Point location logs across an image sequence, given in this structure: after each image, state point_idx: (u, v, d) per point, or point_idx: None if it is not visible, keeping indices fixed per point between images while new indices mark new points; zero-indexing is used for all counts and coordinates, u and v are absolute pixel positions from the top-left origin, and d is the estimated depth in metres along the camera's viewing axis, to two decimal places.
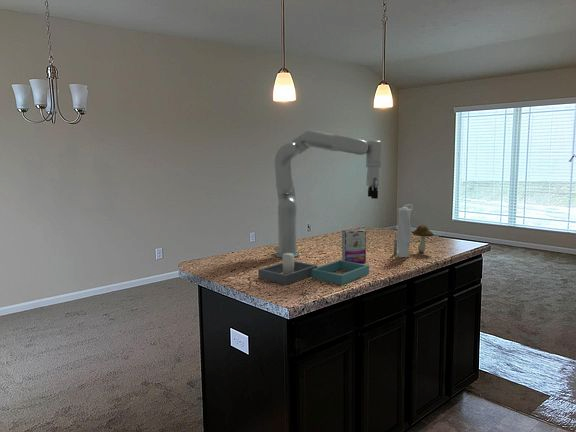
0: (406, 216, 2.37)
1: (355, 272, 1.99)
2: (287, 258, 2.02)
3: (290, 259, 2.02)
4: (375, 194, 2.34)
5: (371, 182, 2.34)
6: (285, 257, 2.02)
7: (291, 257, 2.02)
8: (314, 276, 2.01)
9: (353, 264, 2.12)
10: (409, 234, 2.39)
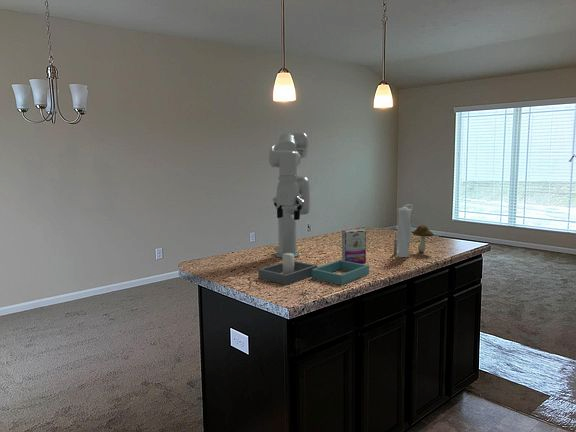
0: (406, 216, 2.37)
1: (355, 272, 1.99)
2: (287, 258, 2.02)
3: (290, 259, 2.02)
4: (298, 214, 1.98)
5: (294, 201, 1.96)
6: (285, 257, 2.02)
7: (291, 257, 2.02)
8: (314, 276, 2.01)
9: (353, 264, 2.12)
10: (409, 234, 2.39)
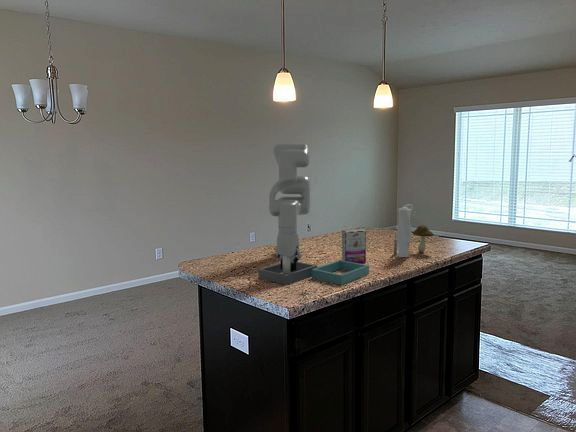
0: (406, 216, 2.37)
1: (355, 272, 1.99)
2: (287, 258, 2.02)
3: (290, 259, 2.02)
4: (295, 266, 2.02)
5: (294, 252, 1.99)
6: (285, 257, 2.02)
7: None
8: (314, 276, 2.01)
9: (353, 264, 2.12)
10: (409, 234, 2.39)
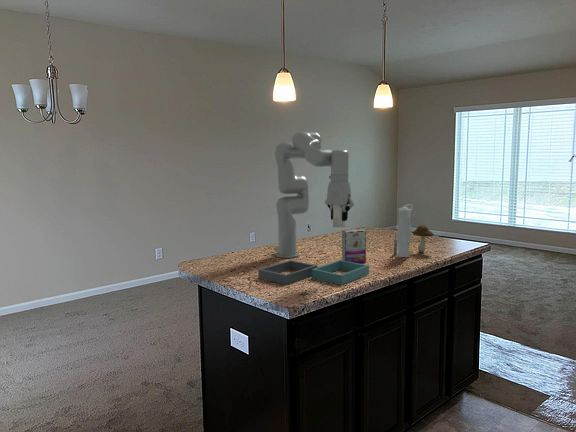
0: (406, 216, 2.37)
1: (355, 272, 1.99)
2: (338, 207, 1.98)
3: (341, 208, 1.98)
4: (346, 215, 1.99)
5: (346, 200, 1.96)
6: (336, 206, 1.98)
7: None
8: (314, 276, 2.01)
9: (353, 264, 2.12)
10: (409, 234, 2.39)
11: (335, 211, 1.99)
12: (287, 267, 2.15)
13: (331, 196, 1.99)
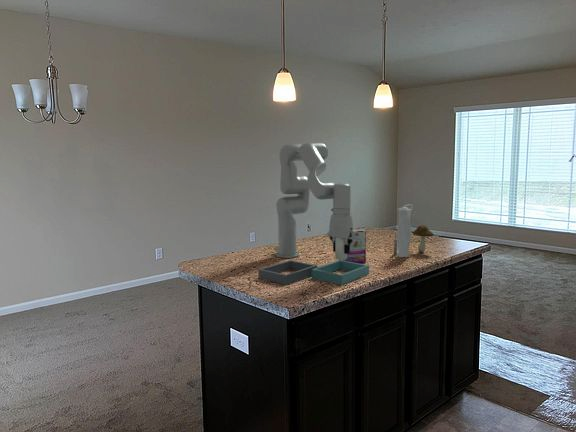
0: (406, 216, 2.37)
1: (355, 272, 1.99)
2: (341, 240, 2.00)
3: (344, 241, 2.00)
4: (349, 248, 2.01)
5: (348, 233, 1.98)
6: (339, 239, 2.00)
7: None
8: (314, 276, 2.01)
9: (353, 264, 2.12)
10: (409, 234, 2.39)
11: (337, 244, 2.01)
12: (287, 267, 2.15)
13: (333, 229, 2.01)
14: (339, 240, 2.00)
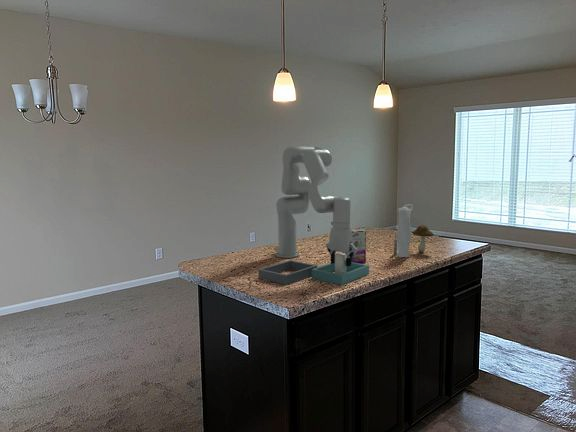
0: (406, 216, 2.37)
1: (355, 272, 1.99)
2: (340, 258, 2.02)
3: (343, 259, 2.02)
4: (350, 261, 2.01)
5: (348, 247, 1.99)
6: (338, 257, 2.02)
7: (344, 257, 2.02)
8: (314, 276, 2.01)
9: (353, 264, 2.12)
10: (409, 234, 2.39)
11: (337, 262, 2.02)
12: (287, 267, 2.15)
13: (333, 243, 2.02)
14: (338, 258, 2.02)
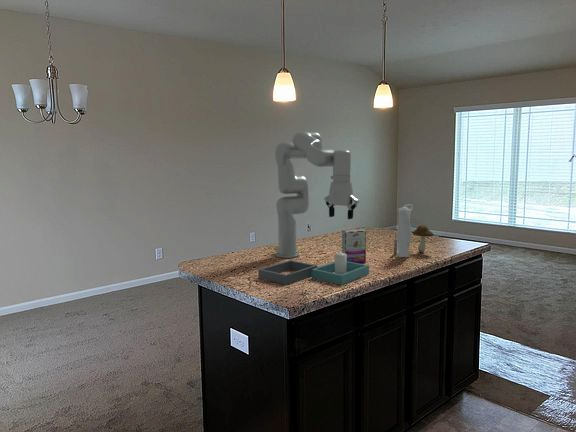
0: (406, 216, 2.37)
1: (355, 272, 1.99)
2: (340, 258, 2.02)
3: (343, 259, 2.02)
4: (352, 214, 1.98)
5: (348, 200, 1.96)
6: (338, 257, 2.02)
7: (344, 257, 2.02)
8: (314, 276, 2.01)
9: (353, 264, 2.12)
10: (409, 234, 2.39)
11: (337, 262, 2.02)
12: (287, 267, 2.15)
13: (333, 196, 2.00)
14: (338, 258, 2.02)
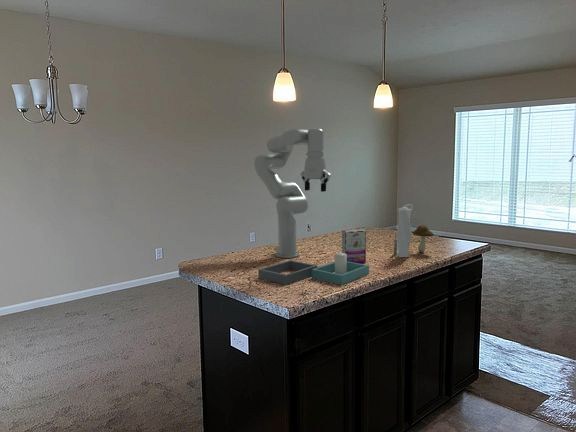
0: (406, 216, 2.37)
1: (355, 272, 1.99)
2: (340, 258, 2.02)
3: (343, 259, 2.02)
4: (325, 186, 2.18)
5: (321, 174, 2.16)
6: (338, 257, 2.02)
7: (344, 257, 2.02)
8: (314, 276, 2.01)
9: (353, 264, 2.12)
10: (409, 234, 2.39)
11: (337, 262, 2.02)
12: (287, 267, 2.15)
13: (308, 171, 2.20)
14: (338, 258, 2.02)
